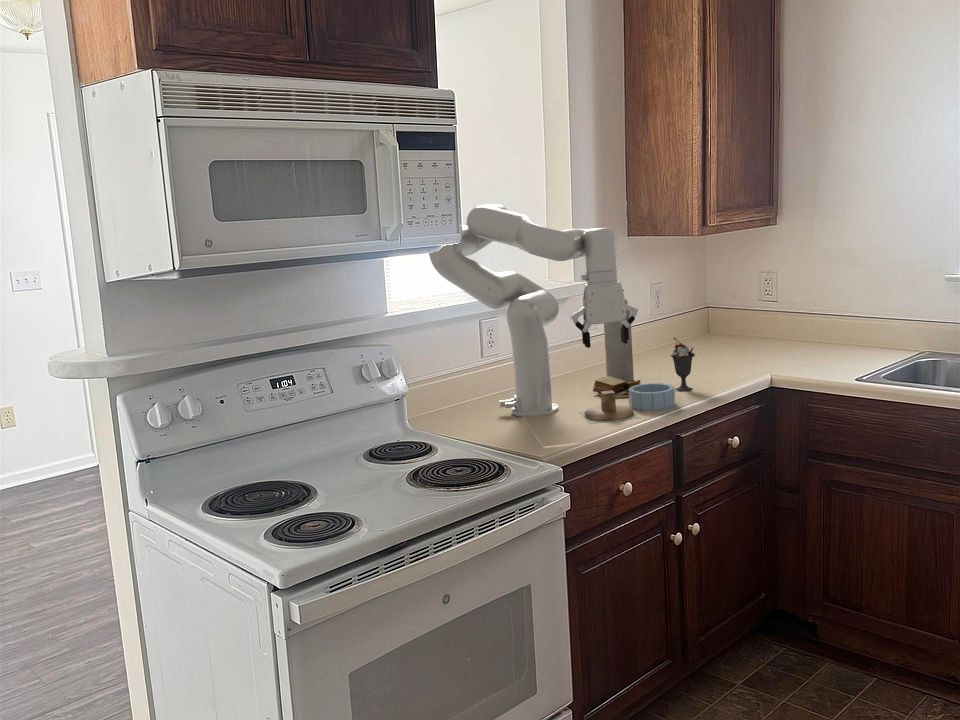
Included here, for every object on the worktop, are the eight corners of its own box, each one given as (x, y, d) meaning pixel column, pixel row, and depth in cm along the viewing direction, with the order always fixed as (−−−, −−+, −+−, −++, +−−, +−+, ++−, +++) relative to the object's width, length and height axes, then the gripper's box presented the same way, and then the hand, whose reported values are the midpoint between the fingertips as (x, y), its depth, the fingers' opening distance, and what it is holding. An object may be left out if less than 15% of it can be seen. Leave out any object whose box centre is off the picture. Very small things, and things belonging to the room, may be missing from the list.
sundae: (667, 389, 251) (664, 337, 249) (687, 385, 253) (685, 334, 251) (679, 393, 245) (677, 340, 242) (700, 389, 247) (698, 337, 244)
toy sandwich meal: (621, 402, 241) (620, 385, 240) (586, 396, 252) (585, 380, 251) (651, 393, 249) (651, 377, 248) (616, 388, 259) (615, 372, 258)
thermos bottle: (634, 378, 269) (629, 286, 264) (633, 383, 262) (628, 289, 257) (607, 379, 271) (602, 288, 266) (606, 384, 263) (600, 291, 258)
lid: (591, 423, 220) (589, 399, 219) (579, 412, 232) (578, 389, 231) (639, 417, 221) (638, 394, 220) (625, 406, 233) (624, 384, 232)
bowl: (637, 413, 227) (636, 395, 226) (624, 404, 238) (623, 386, 237) (680, 409, 228) (679, 390, 227) (666, 399, 239) (665, 381, 238)
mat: (590, 425, 220) (590, 423, 220) (578, 413, 233) (578, 411, 232) (641, 419, 221) (641, 417, 221) (626, 408, 234) (626, 406, 234)
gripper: (571, 282, 216) (576, 350, 219) (639, 275, 218) (643, 343, 221) (564, 280, 224) (569, 346, 227) (630, 273, 226) (634, 339, 229)
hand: (606, 344), depth 224 cm, fingers open, 9 cm apart
